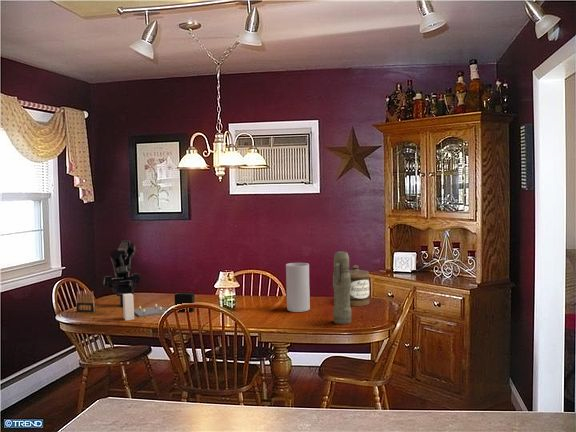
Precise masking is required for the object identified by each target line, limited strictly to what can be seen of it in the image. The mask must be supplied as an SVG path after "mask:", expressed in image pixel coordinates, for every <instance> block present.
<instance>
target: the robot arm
mask: <svg viewBox="0 0 576 432" xmlns="http://www.w3.org/2000/svg"><path fill="white" fill-rule="evenodd" d="M135 253H136V246H135V244H134V243H133V242H131V241H130V240H121V241H120V244H119V247H118V248H114V250H113V251H111V252H110V254H109V257H110V260H111V263H112V267H113V271H114V276H115V277H113V276H112V275H110V276H109V275H108V276H107V275H106V276H104V278H103V286H104V287H106V288H109V289H110V290H111V291H112V292H113V293H114V294H115V295H116V296H117V297H119V304H117V307H121V308H123V294H130V293H131V294H133V296H134V294H135V293H134V291H135V286H136V285H137V284H139V283H140V281H141V280H140V279H141V274H139V273H137V272H136V273H131V276H130V272H131V271H132V266H131V264H132V263H131V260H132V259H133V258H134V257H135ZM115 283H117V285H116V286H115Z"/></svg>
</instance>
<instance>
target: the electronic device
mask: <svg viewBox="0 0 576 432" xmlns="http://www.w3.org/2000/svg"><path fill="white" fill-rule="evenodd" d="M195 298H196V297H195V293H194V292H177V293H175V294H174V306H175V305H177V304H182V303H194V302H195ZM195 303H196V302H195ZM195 310H196V308H195V309H194V308H189V312H188V313H192V312H194V311H195ZM177 313H186V312H185V309H182V310H179V311H178V312H177Z"/></svg>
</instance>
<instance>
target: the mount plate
mask: <svg viewBox="0 0 576 432" xmlns="http://www.w3.org/2000/svg"><path fill="white" fill-rule="evenodd" d="M166 310H167V309H166V308H164V307H163V306H161V305H158V304H157V303H155V304H154V306H150V307H143V308H142V306H141V305H138V308H134V315H136V316H137V317H139V318H142V317H151V316H158V315H159V316H160V315H164V314H163V313H164V312H165V311H166Z"/></svg>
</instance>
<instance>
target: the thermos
mask: <svg viewBox="0 0 576 432" xmlns="http://www.w3.org/2000/svg"><path fill="white" fill-rule="evenodd" d="M349 270H350V256H349V254H348V252H347V251H341V250H340V251H336V252H335V253H334V256H333V275H332V288H333V298H334V299H333V301H334V302H333V304H334V305H333V310H332V312H333V317H332V318H333V323H334V324H337V325H348V324H351V323H352V308H351V307H352V306H350V288H351V276H350V273H349Z"/></svg>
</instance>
